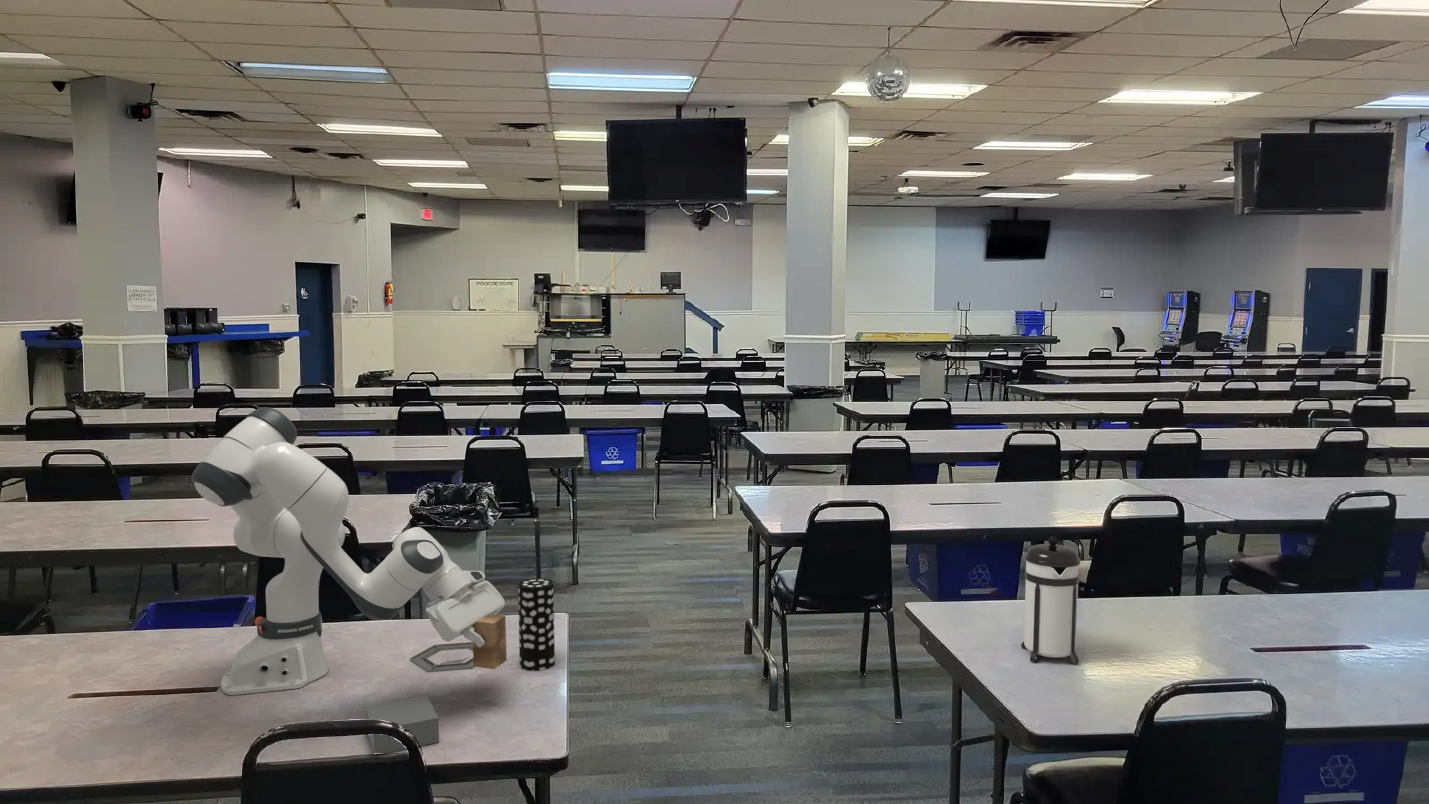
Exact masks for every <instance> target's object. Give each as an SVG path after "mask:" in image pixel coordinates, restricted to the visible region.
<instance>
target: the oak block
mask: <svg viewBox="0 0 1429 804" xmlns="http://www.w3.org/2000/svg"><path fill="white" fill-rule="evenodd" d="M506 619H507V618H506V615H502V614H495V615H494V614H488V615H486V616H484V617H483V618H481V619H479V620H478V621H476V623H475V624H473V625H472V627H473V628H474V629H475V630H474V632H476V633H477V634H479V635H480V636H481V635H483V636H484V637H485V638H486V639H487V643H486V644H485V645H483V646H482V647H480V648H479V647H478V646H477V645H476V644H475V643H474V642H473V651H472V654H473V657H472V658H473V660H474V666H475V667H477V668H483V669H491V670H495V669H497V668H498V667H500V666H501V665H503V664H504V663H505V662H507V629H506V628H507V626H506V624H507V622H506ZM475 667H474V668H475Z"/></svg>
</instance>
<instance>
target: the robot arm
mask: <svg viewBox="0 0 1429 804" xmlns="http://www.w3.org/2000/svg"><path fill="white" fill-rule="evenodd" d="M297 438H298V432H297V428H296V426H295V424H294V423H293V422H292V421H291V419H290V418H289V417H288V416H287V415H285V414H284V413H282V412H281V411H279V410H277V409H275V408H273V407H268V406H262V407H258V408H257V409H254V410H253V411H251V412H250V413H248V414H247V415H246V417H245V419H243V420H241V422H239V423H238V424H236V425H235V426H234V427H233V428H232V429H230V431H228V432H227V433H226V434H225V435H224V436H223V437H222V438H221V440H220V441H219V442H218V443H217V444H216V445H214V446H213V447H212V448H211V449H210V450H209V451H208V453H207V454H206V456H205V459H204V460H203V461H200V462H199V463H198V464H197V466H196V468H195V469H194V470H193V472H192V474H191V476H190V477H191V484H192V486H193V487H194V488H195V490H196V491H197V492H198V494H199V496H201V497H202V498H203V499H205V500H206V501H208V502H209V503H212V504H215V505H217V506H219V507H231V508H232V510H233V511H234V512H235V513H236V514H237V516H238V517H239V518H238V519H237V520H236V523H235V525H234V528H233V541H234V543H235V545H236V548H238V549H239V550H240V551H241V552H244V553H247V554H250V555H253V556H257V557H264V558H265V557H268V558H284V567H283V571H282V572H281V573H278V574H276V576H274V577H273V578H271V579H270V581H268V583H267V585H266V586H265V605H266V606H265V607H266V616H265V617H263V616H257V617H255V619H254V624H255V625H254V626H255V627H256V632H257V635H256V636H255V637H254V638H252V639H251V640H250V641H249V642H248V643H247V644H245V645H244V646H243V647H242V648H240V649H239V650H238V651H237V652H236V653H235V655H234V657H233V661H232V664H231V669H230V671H228V672H227V673H225V674H223V676H222V678H221V680H220V689H221V692H222V693H224V694H225V695H227V696H236V695H237V696H238V695H247V694H256V693H264V692H265V693H266V692H274V691H284V690H285V691H286V690H292V689H293V690H294V689H300V688H303V687H304V686H306V685H307V684H309V683H311V682H313V681H315V680H318V679H320V678H322V677H323V676H326V674H327V673H328V672H329V670H330V668H329V666H328V663H327V660H326V656H325V652H324V648H323V642H322V634H323V633H322V632H323V618H322V613H321V611H320V610H319V609H320V608H319V607H320V606H319V603H320V602H319V597H320V596H319V593H320V592H319V591H320V589H319V588H320V587H319V586H320V580H321V574H322V571H323V570H325V571H326V572H327V574H329V575H330V576H331V577H332V578H333V580H335V582H337V584H338V585H339V586H340V587H341V589H343V590H344V592H346V594H347V595H348V597H350V598H351V600H352V601H353V603H354V604H355V607H357V608H358V610H359V611H360V612H361V614H363V615H364V616H365V617H367V619H369V620H374V621H375V620H376V621H384V620H385V621H386V620H392V619H393V618H395V617H396V615H397V614H399V612H400V611H401V610H402V609H403V608H404V606H405V605H406V603H408V601H409V600H410V599H412V598H413V597H414V596H415V595H416V593H418V592H419V591H420V590H421V588H422V589H423V591H424V593H425V594H426V596H427V597H428V599H429V600H430V601H428V602H427V603H426V606H425V614H427V615H428V618H429V620H430V622H431V625H432V626H433V627H434V629H435V631H436V632H437V633H438V635H439V636H440V637H441V639H442V640H443V641H445V642H447V643H450V642H451V641H453V640H455V639H457V638H458V637H460V636H463V637H464V638H465V639H467V640H468V641H469V642H474V643H475V644H476V645H477V646H478V647H479V648H480V647H482V646H483V645H485V644H486V643H487V639H486V638H485V637H484V636H483V635H481V636H480V635H479V634H477V633H476V632H474V630H475V629H474V628H473V627H472V625H473V624H475V623H476V621H478V620H479V619H481V618H483V617H484V616H486V615H488V614H494V615H498V613H500V612H501V610H503V608H504V607H505V606H506V602H505V599H504V597H503V596H502V595H501V593H500V592H499V591H498V590H497V588H496V587H495V586H494V585H493V584H492V583H491V582H490V581H488V580H485V578H486V576H485V574H484V572H483V571H481V570H463V569H461V567H460V566H459V565H458V564H456V563H455V562H454V561H452V559H451V558H450V556H449V553H448V551H447V550H446V549H445V548H444V547H443V546H442V545H441V543H439V541H438V540H437V539H436V538H434V536H433V535H431V534H430V533H429V532H428V531H426V530H425V529H424V528H422V527H421V526H414V527H411V528H409V529H406V530H404V531H403V532H402V533H401V532H400V534H399V535H397V536H396V537H395V539H394V540H393V543H392V545H391V548H392V551H391V552H390V553H389V554H387V556H386V557H385V558H384V559H383V560H382V561H381V562H380V563H379V564H378V565H377V566H376V567H375V568H374V569H373V570H372V571H371V572H369V573H366V572H364V571H363V570H362V569H361V568H360V567H359V566H358V564H357V563H356V562H355V561H354V560H353V559H352V558H351V557H350V556H349V555H348V554H347V552H345V550H344V549H343V548H342V546H343V544H344V542H345V537H346V531H345V526H344V522H343V520H344V517H345V516H346V513H347V510H348V508H349V507H348V506H349V500H350V497H349V495H350V494H349V490H348V486H347V485H346V482H344V480H343V479H342V478H341V477H339V475H338V474H336V472H334V471H333V470H332V469H330V468H329V467H327V465H325V464H324V463H323V462H321V461H320V460H319V459H317V458H316V457H314V456H313V455H311V454H309V452H306V451H305V450H303V449H302V448H299V447H298V446H296V445H294V444H295V442H296V440H297Z"/></svg>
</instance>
